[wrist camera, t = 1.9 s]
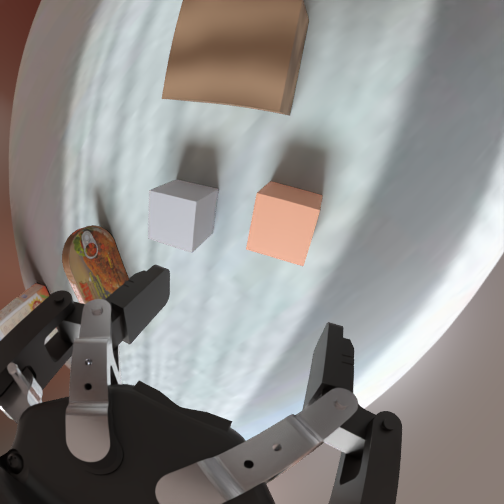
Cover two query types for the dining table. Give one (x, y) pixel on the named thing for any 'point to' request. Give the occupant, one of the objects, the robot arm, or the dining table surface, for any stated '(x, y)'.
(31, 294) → the cracker box
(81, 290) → the tin
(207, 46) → the walnut block
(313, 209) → the terracotta cube
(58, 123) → the dining table surface
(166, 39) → the dining table surface
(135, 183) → the dining table surface
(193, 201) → the grey-blue cube
